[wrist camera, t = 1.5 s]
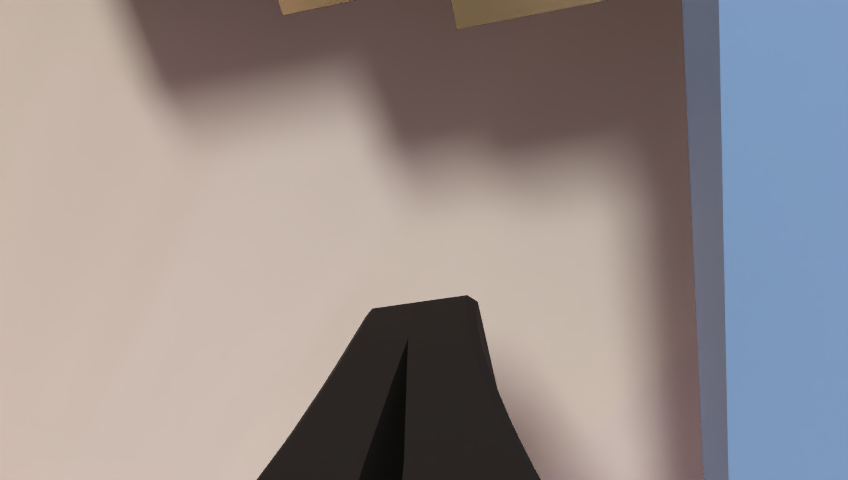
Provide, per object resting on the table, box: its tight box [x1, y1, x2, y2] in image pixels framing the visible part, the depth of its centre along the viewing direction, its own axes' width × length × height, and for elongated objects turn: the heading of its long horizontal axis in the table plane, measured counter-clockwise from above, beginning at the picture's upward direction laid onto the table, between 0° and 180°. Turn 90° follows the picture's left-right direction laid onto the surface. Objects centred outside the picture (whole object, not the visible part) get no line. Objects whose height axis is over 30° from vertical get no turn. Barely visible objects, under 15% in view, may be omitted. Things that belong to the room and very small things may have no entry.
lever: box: [682, 0, 848, 480], centre depth 10 cm, size 3×14×2 cm, turn 12°
